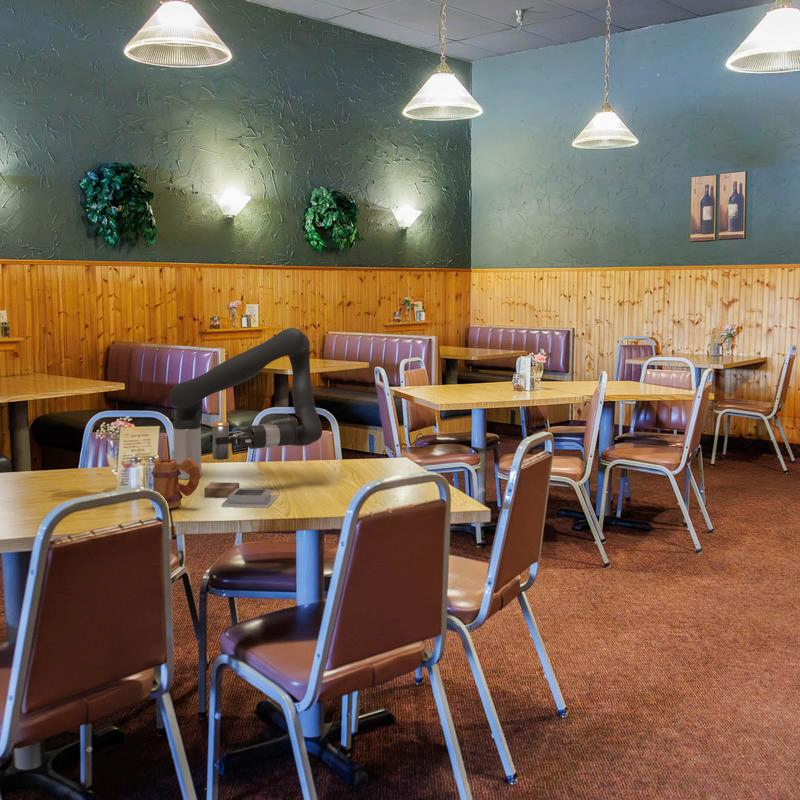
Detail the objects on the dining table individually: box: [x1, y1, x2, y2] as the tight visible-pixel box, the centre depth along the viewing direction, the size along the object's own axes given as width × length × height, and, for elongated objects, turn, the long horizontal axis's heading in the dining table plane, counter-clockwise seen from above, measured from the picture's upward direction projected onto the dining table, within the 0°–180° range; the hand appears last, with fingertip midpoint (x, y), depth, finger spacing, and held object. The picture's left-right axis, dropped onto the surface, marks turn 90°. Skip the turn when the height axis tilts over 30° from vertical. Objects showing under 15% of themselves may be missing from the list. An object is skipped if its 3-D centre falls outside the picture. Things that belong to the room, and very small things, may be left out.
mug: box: [150, 458, 201, 510], centre depth 265 cm, size 15×8×15 cm, turn 82°
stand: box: [203, 481, 240, 499], centre depth 285 cm, size 9×9×3 cm
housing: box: [221, 488, 278, 509], centre depth 275 cm, size 14×14×3 cm
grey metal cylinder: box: [212, 421, 230, 461], centre depth 283 cm, size 5×5×11 cm
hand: (212, 439), depth 282 cm, fingers closed on grey metal cylinder, 5 cm apart
